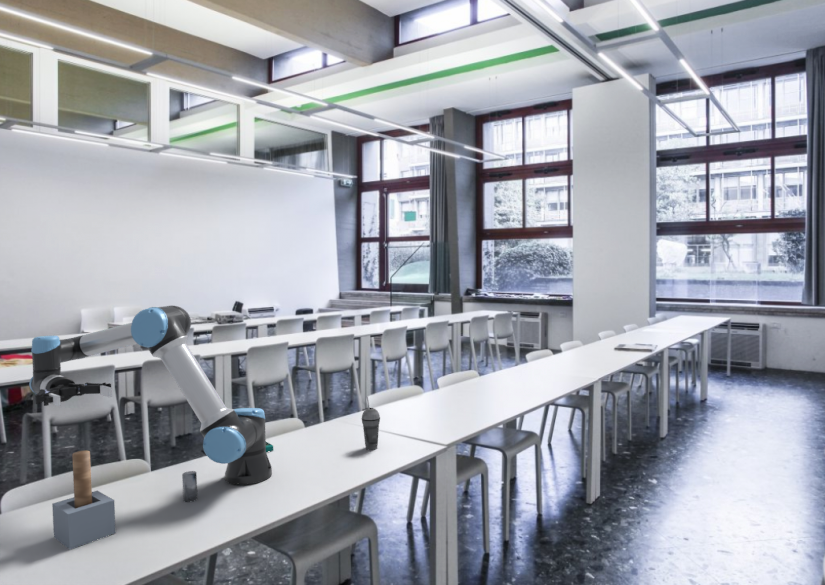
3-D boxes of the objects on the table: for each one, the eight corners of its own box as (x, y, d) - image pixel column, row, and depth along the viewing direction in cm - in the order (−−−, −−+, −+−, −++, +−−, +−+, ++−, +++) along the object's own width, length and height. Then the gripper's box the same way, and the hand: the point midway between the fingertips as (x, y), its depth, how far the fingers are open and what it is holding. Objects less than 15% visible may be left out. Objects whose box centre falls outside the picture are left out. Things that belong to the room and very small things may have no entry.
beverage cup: (378, 451, 213) (377, 398, 213) (360, 450, 214) (358, 398, 214) (382, 445, 220) (381, 394, 220) (364, 444, 222) (363, 394, 221)
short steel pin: (193, 495, 174) (192, 470, 173) (199, 498, 171) (198, 472, 171) (180, 499, 170) (179, 473, 170) (187, 503, 168) (186, 476, 168)
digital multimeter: (259, 443, 229) (259, 436, 228) (274, 451, 217) (273, 444, 217) (241, 447, 224) (241, 439, 224) (255, 456, 212) (255, 448, 212)
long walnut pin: (90, 530, 151) (86, 449, 150) (96, 534, 148) (92, 452, 148) (73, 536, 148) (69, 453, 147) (79, 540, 145) (75, 456, 145)
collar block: (98, 522, 156) (97, 490, 156) (115, 533, 149) (114, 499, 148) (53, 537, 147) (52, 503, 147) (69, 549, 140) (68, 514, 140)
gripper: (101, 393, 184) (130, 401, 170) (11, 408, 165) (35, 418, 151) (100, 370, 184) (129, 376, 170) (10, 382, 165) (34, 391, 151)
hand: (85, 396), depth 161 cm, fingers open, 13 cm apart
